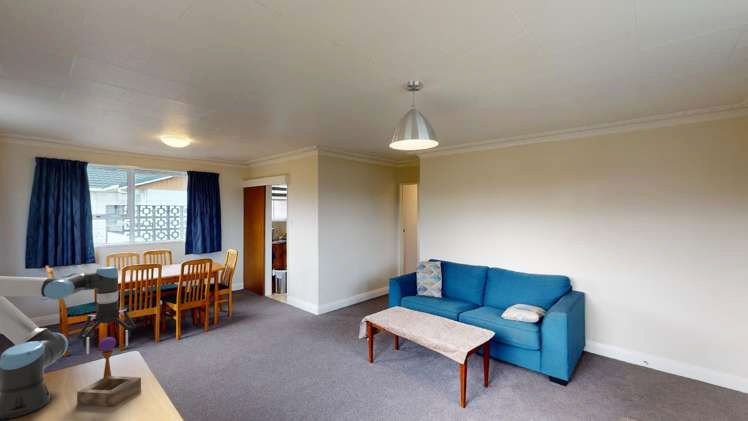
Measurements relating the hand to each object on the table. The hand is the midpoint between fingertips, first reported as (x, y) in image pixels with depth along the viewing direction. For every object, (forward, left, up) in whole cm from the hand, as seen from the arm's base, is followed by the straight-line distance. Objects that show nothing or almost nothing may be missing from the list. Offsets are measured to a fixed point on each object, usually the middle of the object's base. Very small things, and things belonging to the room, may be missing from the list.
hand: (107, 349), depth 147 cm
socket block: (+12, -11, -15) cm, 22 cm away
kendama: (0, 0, -15) cm, 15 cm away
